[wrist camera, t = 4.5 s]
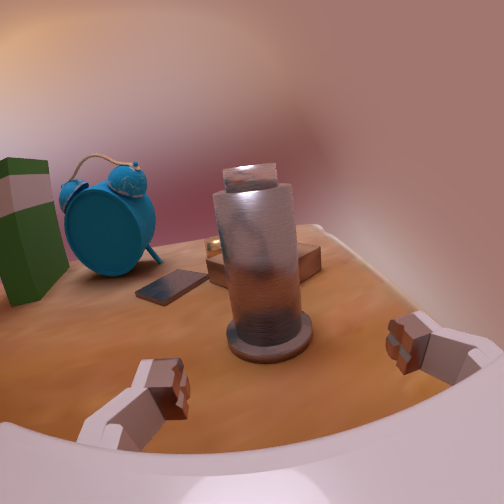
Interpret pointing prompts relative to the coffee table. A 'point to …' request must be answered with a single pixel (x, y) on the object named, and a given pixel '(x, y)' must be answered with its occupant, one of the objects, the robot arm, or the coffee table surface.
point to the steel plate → (171, 286)
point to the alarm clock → (109, 219)
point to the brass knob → (213, 246)
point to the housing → (261, 265)
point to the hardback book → (28, 231)
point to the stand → (306, 258)
